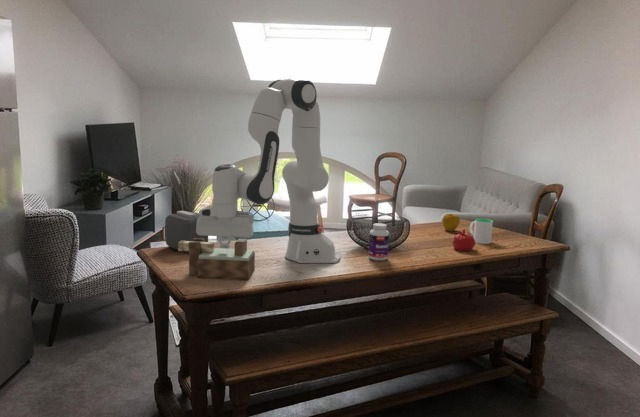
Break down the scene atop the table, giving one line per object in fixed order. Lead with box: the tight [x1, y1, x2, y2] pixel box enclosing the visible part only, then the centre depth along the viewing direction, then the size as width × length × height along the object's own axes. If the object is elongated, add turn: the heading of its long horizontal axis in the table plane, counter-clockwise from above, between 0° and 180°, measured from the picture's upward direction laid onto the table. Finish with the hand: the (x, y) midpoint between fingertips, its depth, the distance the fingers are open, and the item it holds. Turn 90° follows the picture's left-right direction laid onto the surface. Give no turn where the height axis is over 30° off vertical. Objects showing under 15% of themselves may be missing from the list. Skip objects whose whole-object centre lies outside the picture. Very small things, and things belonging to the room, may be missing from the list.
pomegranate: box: [451, 229, 476, 252], centre depth 240 cm, size 10×10×9 cm
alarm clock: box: [164, 210, 209, 253], centre depth 225 cm, size 16×11×16 cm
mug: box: [468, 218, 494, 245], centre depth 257 cm, size 12×8×10 cm, turn 36°
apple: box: [442, 213, 460, 232], centre depth 277 cm, size 9×8×9 cm
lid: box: [199, 238, 255, 261], centre depth 193 cm, size 17×11×6 cm, turn 87°
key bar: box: [177, 240, 215, 252], centre depth 194 cm, size 12×4×3 cm, turn 87°
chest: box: [188, 238, 256, 281], centre depth 194 cm, size 22×12×12 cm, turn 87°
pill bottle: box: [367, 222, 390, 262], centre depth 220 cm, size 8×8×14 cm
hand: (224, 248), depth 193 cm, fingers closed
